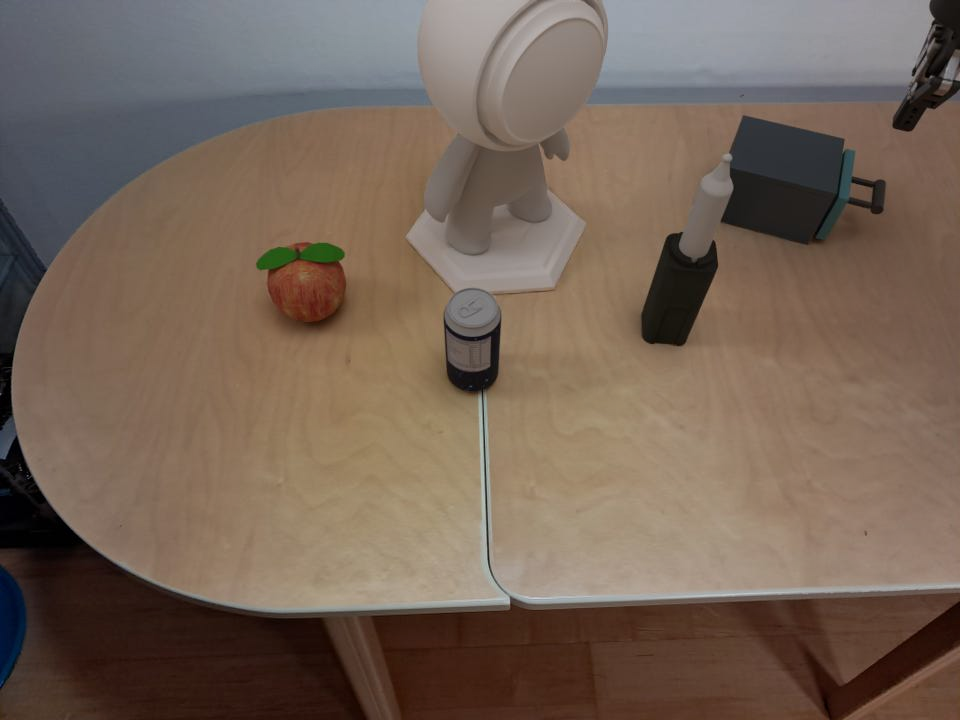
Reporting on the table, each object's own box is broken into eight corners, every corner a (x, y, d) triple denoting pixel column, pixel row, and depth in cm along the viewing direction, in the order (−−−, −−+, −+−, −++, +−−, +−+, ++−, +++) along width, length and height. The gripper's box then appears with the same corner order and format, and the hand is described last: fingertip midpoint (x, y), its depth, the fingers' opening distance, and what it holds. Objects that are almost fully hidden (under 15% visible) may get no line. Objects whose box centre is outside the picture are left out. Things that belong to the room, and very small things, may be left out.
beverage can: (508, 380, 77) (513, 312, 67) (465, 405, 75) (464, 339, 65) (479, 345, 80) (480, 275, 70) (437, 368, 78) (431, 300, 68)
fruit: (350, 335, 80) (336, 278, 72) (267, 336, 80) (243, 278, 72) (356, 278, 85) (344, 218, 77) (277, 278, 85) (256, 218, 77)
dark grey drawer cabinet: (816, 191, 94) (845, 138, 87) (807, 244, 89) (836, 193, 81) (723, 167, 97) (743, 114, 90) (708, 218, 91) (728, 166, 84)
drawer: (869, 201, 92) (895, 160, 86) (864, 250, 87) (891, 210, 81) (745, 170, 95) (762, 128, 89) (733, 216, 90) (750, 175, 84)
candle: (684, 311, 82) (755, 137, 62) (687, 346, 80) (762, 176, 59) (640, 308, 83) (696, 133, 62) (642, 343, 80) (701, 172, 59)
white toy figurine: (486, 329, 81) (493, 47, 52) (382, 213, 91) (339, -76, 62) (615, 254, 87) (686, -33, 58) (505, 154, 98) (518, -132, 69)
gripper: (1047, 13, 59) (935, 172, 74) (1039, -59, 66) (938, 99, 81) (953, -5, 61) (861, 154, 75) (954, -73, 68) (870, 85, 82)
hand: (901, 126), depth 78 cm, fingers closed
